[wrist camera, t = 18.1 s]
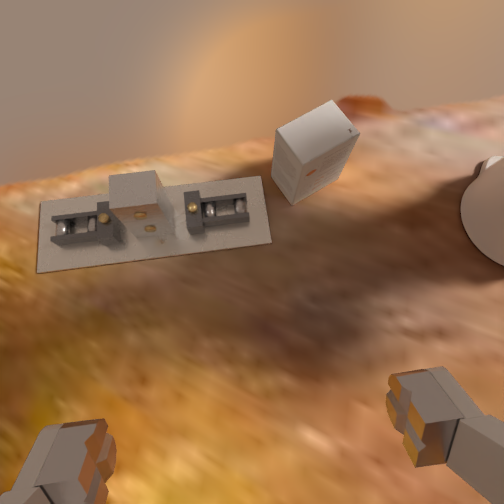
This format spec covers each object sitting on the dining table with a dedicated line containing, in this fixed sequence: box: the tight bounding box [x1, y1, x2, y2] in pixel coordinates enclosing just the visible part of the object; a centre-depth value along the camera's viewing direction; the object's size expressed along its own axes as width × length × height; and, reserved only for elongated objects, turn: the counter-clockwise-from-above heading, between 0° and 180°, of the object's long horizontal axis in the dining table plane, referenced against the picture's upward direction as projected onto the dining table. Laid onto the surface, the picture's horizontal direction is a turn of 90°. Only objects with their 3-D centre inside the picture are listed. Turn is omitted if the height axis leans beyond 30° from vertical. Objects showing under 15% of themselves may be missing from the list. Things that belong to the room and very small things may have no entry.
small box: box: [271, 100, 360, 206], centre depth 42 cm, size 8×6×10 cm
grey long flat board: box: [37, 176, 272, 274], centre depth 43 cm, size 30×10×4 cm, turn 98°
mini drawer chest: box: [109, 170, 175, 238], centre depth 40 cm, size 5×4×9 cm
